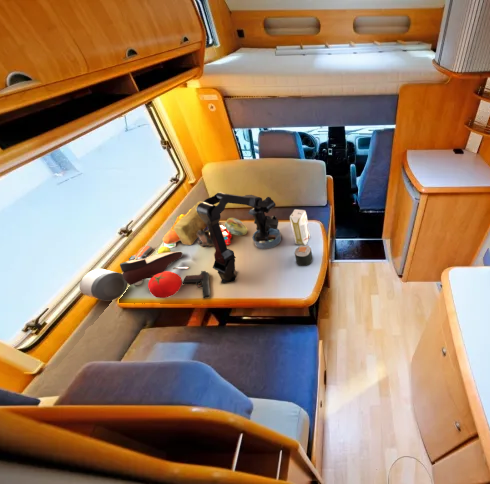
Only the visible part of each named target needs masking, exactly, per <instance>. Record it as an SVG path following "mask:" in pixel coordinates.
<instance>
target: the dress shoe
mask: <svg viewBox="0 0 490 484" xmlns="http://www.w3.org/2000/svg"><path fill="white" fill-rule="evenodd" d="M148 256H149V255H148ZM182 257H183V252H182V251H171V252H167V253H161V254H158V253H155V254H152V255H150V256H149V257H145V258H146V259H140V260H130V261H129V260H126V261H124V262H121V263H119V267H120V269H121V272H122V274H123V278H124V280H125V281H126V282H127V283H128V284H127V285H129V286H132V285H134V284H135V283H137V282H139V281H141V280H143V281H144V280H146V279H147V280H148V279H151V278H152V277H153V276H154V275H156V274H158V273H162V272H165V271H167V268H168V267H169V265H170V264H172V263H174V262H175V261H178V260H180V259H181V258H182Z"/></svg>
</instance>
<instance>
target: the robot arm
mask: <svg viewBox="0 0 490 484" xmlns="http://www.w3.org/2000/svg"><path fill="white" fill-rule="evenodd" d="M202 201H203V202H202V203H200V204H199V205H198V206H197V208H196V211H197V213H198V215H199V217H200V218H201V219H202V220H203V221H204V222H205V224H206V225H207V227H206V229H207V230H208V231H209V233H210V236H211V239H212V242H213V244H214V246H213V247H214V250H215V251H214V255H213V256H214V262H213V265H212V269H214V270H215V271H217V274H218V276H219V277H220V279H221V281H220V283H221V284H229V283H235V282H236V280H237V277H238V271H237V270H236V258H237V257H236V256H235V252H234V250H232V249H230V248H228V245H226V243H225V240H224V237H223V234H222V231H221V227H220V226H221V225H220V221H221V214H222V213H223V212H224V211H225V209H226V207H227V205H228V204H235V205H243V206H248V207H251V208H250V209H249V211H248V212H247V213H248V215H250V216H253V218H254V222H253V223H254V224H255V225H256V231H257V230H259V233H257V234H256V236H255V240H256V241H257V242H258V241H268V237H269V236H268V235H269V232H268V230H269V229H270V228H272V229H277V228H278V226H279V218H277V216H276V215H272V216H270V215H266V214H268V213H269V212H271V211H272V210H273V209H275V208H276V206H277V205H276V202H275V201H274V200H273V199H272V197H270V196H266V197H265V198H264V199H263V198H262V197H260V196H257V195H254V194H245V195H239V194H231V193H226V192H223V191H219V192H217V193H215V194H214V195H212V196H209V197H208V198H205V199H204V200H202ZM278 229H279V228H278Z"/></svg>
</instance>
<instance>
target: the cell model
mask: <svg viewBox="0 0 490 484" xmlns="http://www.w3.org/2000/svg"><path fill="white" fill-rule="evenodd" d="M224 227H226V229H227V231H229V232H230V233H231V235H235V236H245V235H247V233H248V228H247V226H246V225H245V223H244V222H242V221H241V220H240V219H238V218H235V217H228V218H227V220H226V221H225V223H224Z"/></svg>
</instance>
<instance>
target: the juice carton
mask: <svg viewBox="0 0 490 484" xmlns="http://www.w3.org/2000/svg"><path fill="white" fill-rule="evenodd" d="M289 222H290V227H291V231H292V236H293V240H294V243H295V244H296V245H300V246H302V245H307V244H308V241H309V240H310V238H311V231H310V227H309V222H308V215H307V212H306V209H297V208H295V209H293V211H292V213H291V214H290V215H289Z"/></svg>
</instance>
